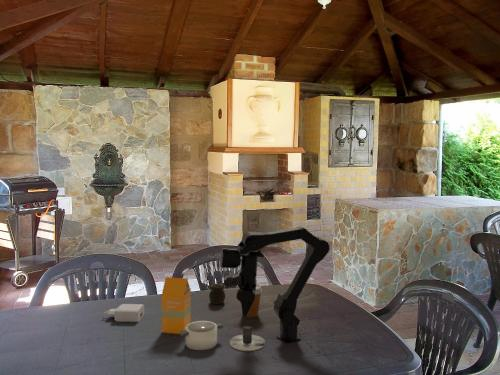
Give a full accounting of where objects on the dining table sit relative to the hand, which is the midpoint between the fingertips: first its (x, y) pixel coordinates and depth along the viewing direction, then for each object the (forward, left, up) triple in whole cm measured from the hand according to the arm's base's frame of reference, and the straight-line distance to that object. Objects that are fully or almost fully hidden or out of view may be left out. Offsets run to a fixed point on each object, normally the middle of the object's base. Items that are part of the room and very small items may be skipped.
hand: (245, 311), depth 161 cm
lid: (-1, 0, -11) cm, 11 cm away
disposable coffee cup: (+22, -15, -11) cm, 29 cm away
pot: (+7, +14, -11) cm, 19 cm away
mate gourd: (+42, -10, -11) cm, 44 cm away
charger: (+45, +31, -12) cm, 56 cm away
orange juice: (+23, +17, -11) cm, 30 cm away
